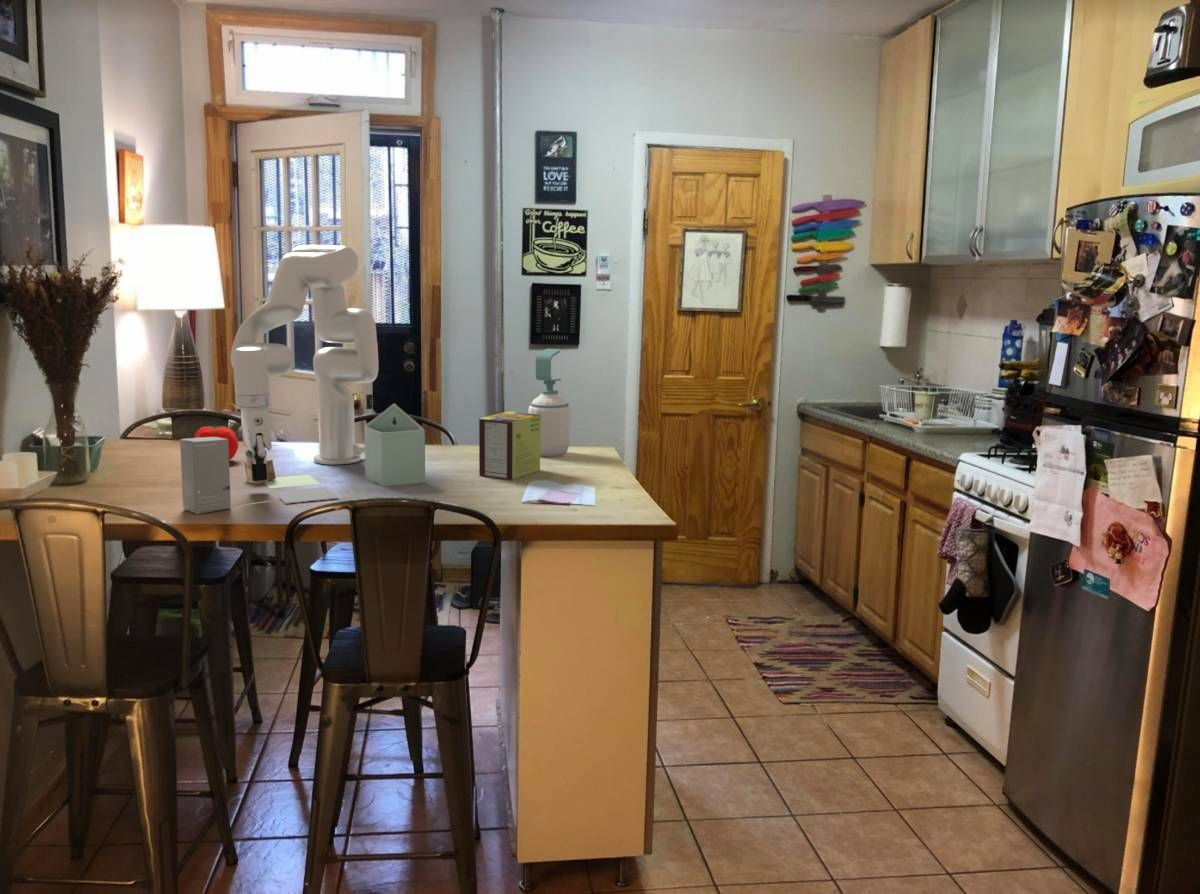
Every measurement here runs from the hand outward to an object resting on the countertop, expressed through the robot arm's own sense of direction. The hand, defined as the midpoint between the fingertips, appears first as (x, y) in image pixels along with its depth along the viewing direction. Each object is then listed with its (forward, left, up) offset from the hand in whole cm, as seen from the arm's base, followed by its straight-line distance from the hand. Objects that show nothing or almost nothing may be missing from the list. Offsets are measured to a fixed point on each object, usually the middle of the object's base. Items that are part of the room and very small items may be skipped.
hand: (257, 477), depth 221 cm
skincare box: (+13, +10, -4) cm, 16 cm away
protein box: (-64, +2, -4) cm, 65 cm away
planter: (-31, +1, -4) cm, 32 cm away
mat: (-9, -9, -4) cm, 14 cm away
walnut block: (-3, -13, -4) cm, 14 cm away
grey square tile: (-9, +7, -4) cm, 12 cm away
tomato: (+3, -43, -4) cm, 44 cm away
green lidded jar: (0, 0, -1) cm, 1 cm away
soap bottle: (-86, -18, -4) cm, 88 cm away
